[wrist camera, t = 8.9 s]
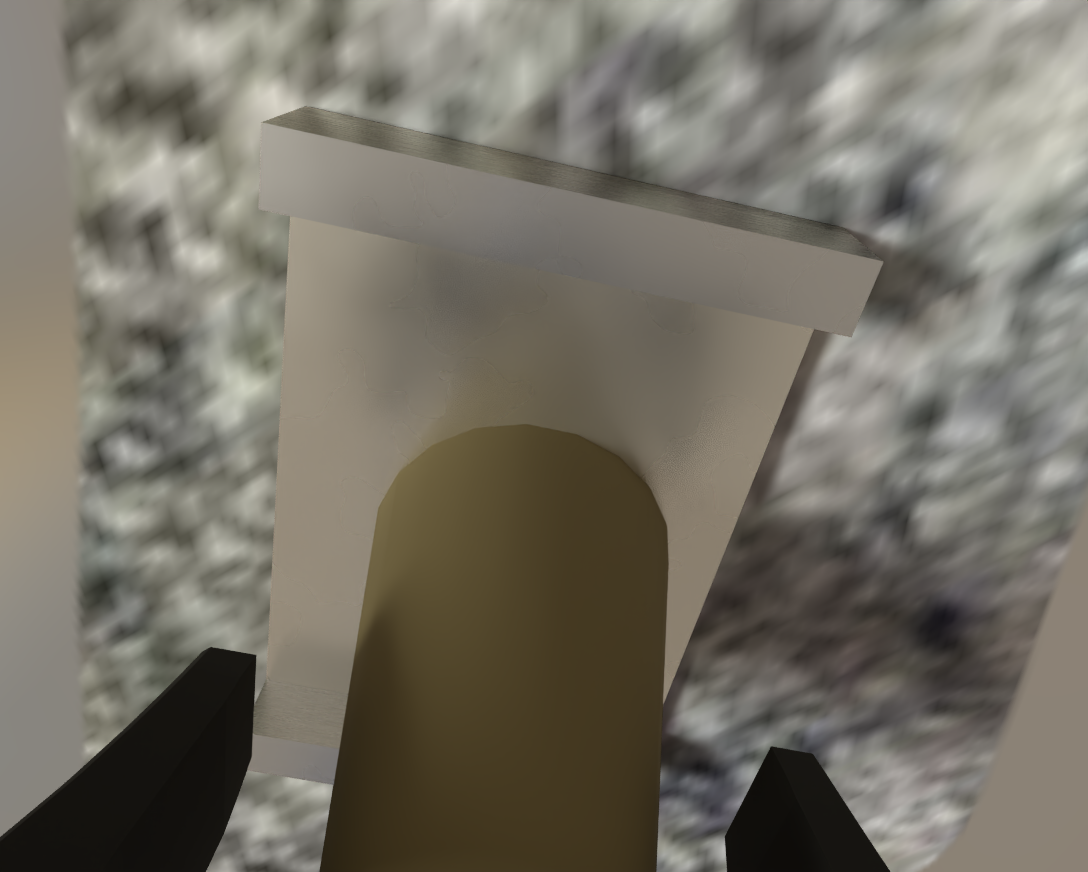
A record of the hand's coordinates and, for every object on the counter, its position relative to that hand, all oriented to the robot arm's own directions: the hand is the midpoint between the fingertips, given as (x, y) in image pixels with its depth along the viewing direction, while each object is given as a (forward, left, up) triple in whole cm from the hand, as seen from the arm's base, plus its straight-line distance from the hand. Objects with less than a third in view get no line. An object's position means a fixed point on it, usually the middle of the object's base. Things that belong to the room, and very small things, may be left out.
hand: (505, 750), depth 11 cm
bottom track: (0, 0, -6) cm, 6 cm away
